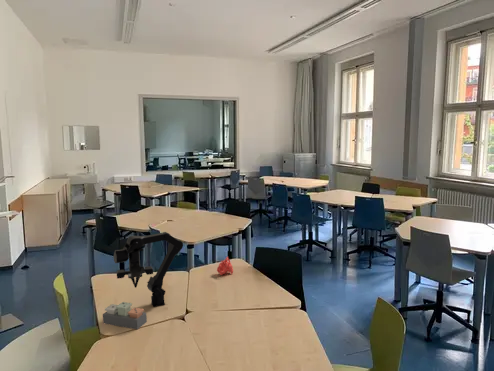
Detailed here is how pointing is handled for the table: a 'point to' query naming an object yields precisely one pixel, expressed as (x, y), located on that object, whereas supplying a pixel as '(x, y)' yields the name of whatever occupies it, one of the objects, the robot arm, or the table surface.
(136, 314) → the key three dots
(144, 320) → the key console
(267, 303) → the table surface
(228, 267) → the anatomical heart
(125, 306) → the key two dots
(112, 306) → the key one dot
